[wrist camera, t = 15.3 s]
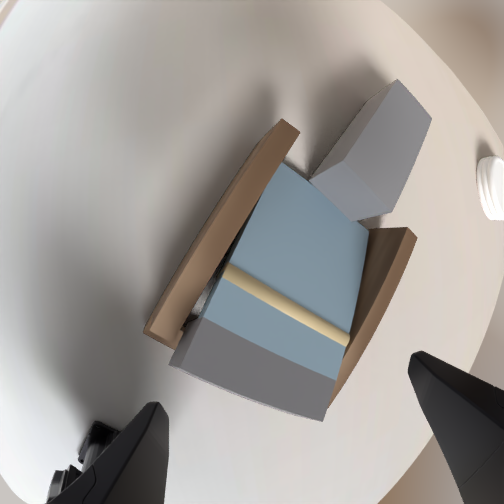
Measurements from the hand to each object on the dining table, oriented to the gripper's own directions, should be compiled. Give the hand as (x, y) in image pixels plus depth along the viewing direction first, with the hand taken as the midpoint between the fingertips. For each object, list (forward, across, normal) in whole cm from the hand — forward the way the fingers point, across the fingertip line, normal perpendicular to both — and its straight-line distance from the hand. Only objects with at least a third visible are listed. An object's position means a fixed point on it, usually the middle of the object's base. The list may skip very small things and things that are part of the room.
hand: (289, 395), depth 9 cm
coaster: (+26, -38, +1) cm, 46 cm away
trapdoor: (+12, -1, +3) cm, 12 cm away
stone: (+13, -7, -3) cm, 15 cm away
